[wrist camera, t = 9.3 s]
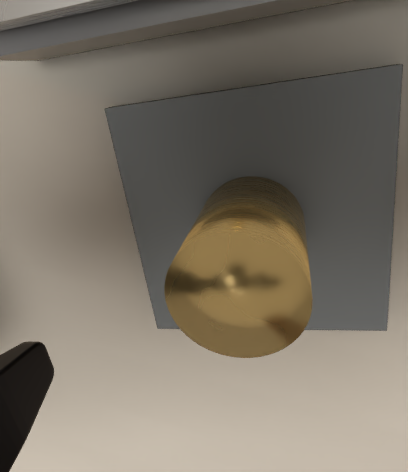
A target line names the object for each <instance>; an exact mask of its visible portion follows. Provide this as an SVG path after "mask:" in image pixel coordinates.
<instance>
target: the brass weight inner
mask: <svg viewBox="0 0 408 472" xmlns="http://www.w3.org/2000/svg"><path fill="white" fill-rule="evenodd" d="M164 294H165V300H166V304H167V307H168V310H169V312H170V314H171V316H172V318H173V320H174V321H175V323H176V324H177V325H178V327H179V328H180V329H181V330H182V331H183V332H184V333H185V334H186V335H187V336H188V337H189V338H190V339H192V340H193V341H194V342H196V343H197V344H199V345H201V346H202V347H204V348H206V349H208V350H211V351H213V352H216V353H219V354H222V355H226V356H231V357H240V358H253V357H261V356H265V355H269V354H272V353H275V352H278V351H280V350H282V349H284V348H285V347H287V346H288V345H290V344H291V343H293V342H294V341H295V340H296V339H297V338H298V337H299V336H300V335H301V333H302V332H303V331H304V329H305V327H306V326H307V324H308V322H309V319H310V316H311V312H312V302H313V299H312V289H311V279H310V269H309V259H308V249H307V239H306V229H305V220H304V214H303V211H302V208H301V206H300V204H299V202H298V201H297V199H296V198H295V196H294V195H293V194H292V193H291V192H290V191H289V190H288V189H287V188H285V187H284V186H282V185H281V184H279V183H277V182H275V181H273V180H270V179H267V178H263V177H256V176H246V177H239V178H236V179H233V180H230V181H228V182H226V183H224V184H223V185H221V186H220V187H218V188H217V189H216V190H215V191H214V192H213V193H212V194H211V196H210V197H209V198H208V200H207V202H206V203H205V205H204V207H203V209H202V210H201V212H200V214H199V216H198V217H197V219H196V221H195V223H194V224H193V226H192V228H191V230H190V231H189V233H188V235H187V237H186V239H185V240H184V242H183V244H182V246H181V247H180V249H179V251H178V253H177V254H176V256H175V258H174V260H173V261H172V263H171V265H170V267H169V269H168V272H167V275H166V278H165V285H164Z"/></svg>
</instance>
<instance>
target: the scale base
mask: <svg viewBox="0 0 408 472" xmlns="http://www.w3.org/2000/svg"><path fill="white" fill-rule="evenodd" d="M346 1H351V0H138V1H134V2H129V3H125V4H120V5H116V6H111V7H106V8H102V9H97V10H93V11H88V12H84V13H79V14H75V15H70V16H66V17H61V18H57V19H52V20H48V21H43V22H39V23H34V24H30V25H25V26H21V27H16V28H12V29H7V30H3V31H0V60H10V61H39V60H44V59H50V58H55V57H60V56H65V55H70V54H76V53H81V52H86V51H91V50H96V49H102V48H107V47H112V46H117V45H122V44H128V43H133V42H138V41H143V40H148V39H154V38H159V37H164V36H169V35H174V34H180V33H185V32H190V31H195V30H200V29H206V28H211V27H216V26H221V25H226V24H231V23H237V22H242V21H247V20H252V19H257V18H263V17H268V16H273V15H278V14H283V13H289V12H294V11H299V10H304V9H309V8H315V7H320V6H325V5H330V4H335V3H341V2H346Z"/></svg>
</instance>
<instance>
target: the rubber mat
mask: <svg viewBox="0 0 408 472" xmlns="http://www.w3.org/2000/svg"><path fill="white" fill-rule="evenodd" d="M402 70H403V64H396V65H390V66H383V67H376V68H370V69H363V70H356V71H349V72H343V73H336V74H329V75H323V76H316V77H309V78H303V79H296V80H289V81H282V82H276V83H269V84H262V85H256V86H249V87H242V88H236V89H229V90H222V91H215V92H209V93H202V94H195V95H189V96H182V97H175V98H169V99H162V100H155V101H148V102H142V103H135V104H128V105H122V106H115V107H110V108H106V109H105V113H106V117H107V121H108V125H109V129H110V133H111V137H112V142H113V146H114V150H115V154H116V158H117V162H118V166H119V171H120V175H121V179H122V183H123V187H124V191H125V195H126V200H127V204H128V208H129V212H130V216H131V220H132V224H133V229H134V233H135V237H136V241H137V245H138V249H139V253H140V258H141V262H142V266H143V270H144V274H145V278H146V282H147V287H148V291H149V295H150V299H151V303H152V307H153V311H154V316H155V320H156V324H157V328H158V329H180V328H179V327H178V325H177V324H176V323H175V321H174V320H173V318H172V316H171V314H170V312H169V310H168V307H167V304H166V300H165V294H164V285H165V278H166V275H167V272H168V269H169V267H170V265H171V263H172V261H173V260H174V258H175V256H176V254H177V253H178V251H179V249H180V247H181V246H182V244H183V242H184V240H185V239H186V237H187V235H188V233H189V231H190V230H191V228H192V226H193V224H194V223H195V221H196V219H197V217H198V216H199V214H200V212H201V210H202V209H203V207H204V205H205V203H206V202H207V200H208V198H209V197H210V196H211V194H212V193H213V192H214V191H215V190H216V189H217V188H218V187H220V186H221V185H223V184H224V183H226V182H228V181H230V180H233V179H236V178H239V177H246V176H256V177H263V178H267V179H270V180H273V181H275V182H277V183H279V184H281V185H282V186H284V187H285V188H287V189H288V190H289V191H290V192H291V193H292V194H293V195H294V196H295V198H296V199H297V201H298V202H299V204H300V206H301V208H302V211H303V214H304V220H305V229H306V239H307V249H308V259H309V269H310V279H311V289H312V299H313V302H312V312H311V316H310V319H309V322H308V324H307V326H306V327H305V329H304V330H373V331H387V322H388V305H389V288H390V271H391V254H392V238H393V221H394V204H395V187H396V171H397V154H398V137H399V120H400V104H401V87H402Z"/></svg>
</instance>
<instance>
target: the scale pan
mask: <svg viewBox="0 0 408 472" xmlns="http://www.w3.org/2000/svg"><path fill="white" fill-rule="evenodd" d="M134 1H138V0H0V31H3V30H7V29H12V28H16V27H21V26H25V25H30V24H34V23H39V22H43V21H48V20H52V19H57V18H61V17H66V16H70V15H75V14H79V13H84V12H88V11H93V10H97V9H102V8H106V7H111V6H116V5H120V4H125V3H129V2H134Z"/></svg>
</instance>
